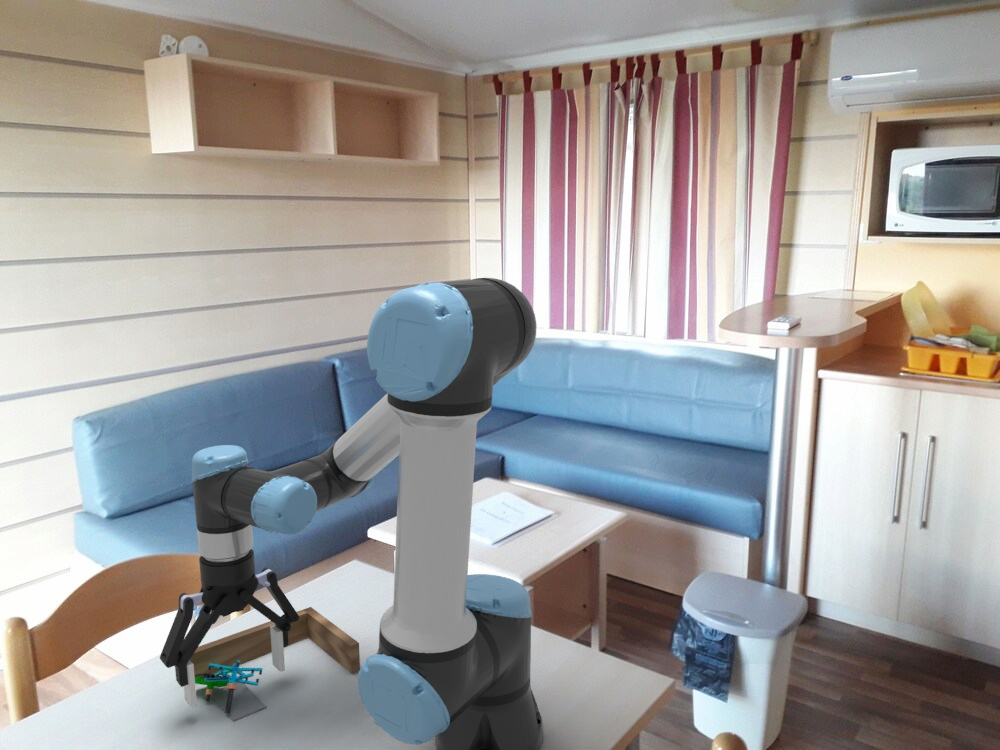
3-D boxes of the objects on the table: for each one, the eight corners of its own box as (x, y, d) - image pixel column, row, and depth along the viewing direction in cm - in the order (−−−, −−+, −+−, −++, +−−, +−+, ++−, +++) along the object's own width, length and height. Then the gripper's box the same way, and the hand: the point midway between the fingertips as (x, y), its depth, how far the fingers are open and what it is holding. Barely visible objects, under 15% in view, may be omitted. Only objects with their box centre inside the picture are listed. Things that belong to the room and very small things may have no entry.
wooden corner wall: (360, 671, 125) (358, 642, 124) (226, 729, 111) (224, 697, 110) (312, 633, 137) (310, 606, 136) (185, 681, 123) (183, 652, 122)
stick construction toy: (274, 665, 119) (236, 651, 114) (267, 713, 115) (227, 701, 110) (216, 680, 124) (178, 667, 118) (208, 726, 120) (167, 715, 114)
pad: (266, 707, 116) (266, 706, 116) (233, 721, 113) (233, 720, 113) (241, 681, 123) (241, 680, 123) (209, 694, 120) (209, 692, 119)
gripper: (293, 523, 124) (300, 645, 128) (127, 568, 108) (141, 706, 112) (316, 536, 119) (323, 663, 123) (145, 586, 102) (159, 731, 106)
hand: (236, 684), depth 117 cm, fingers open, 13 cm apart
